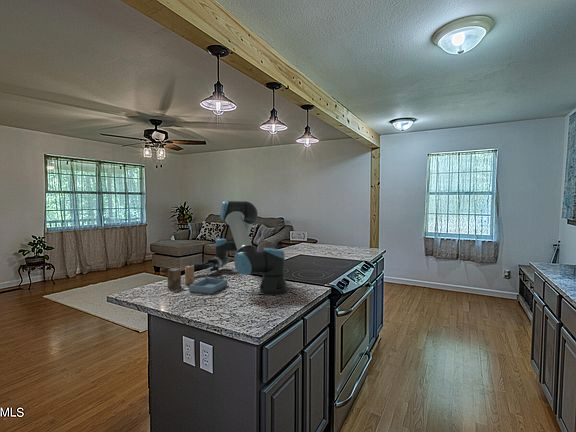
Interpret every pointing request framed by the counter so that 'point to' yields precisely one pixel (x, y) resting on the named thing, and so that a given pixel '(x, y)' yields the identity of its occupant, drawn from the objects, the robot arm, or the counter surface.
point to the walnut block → (174, 278)
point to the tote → (208, 285)
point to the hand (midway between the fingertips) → (197, 270)
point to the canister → (189, 275)
